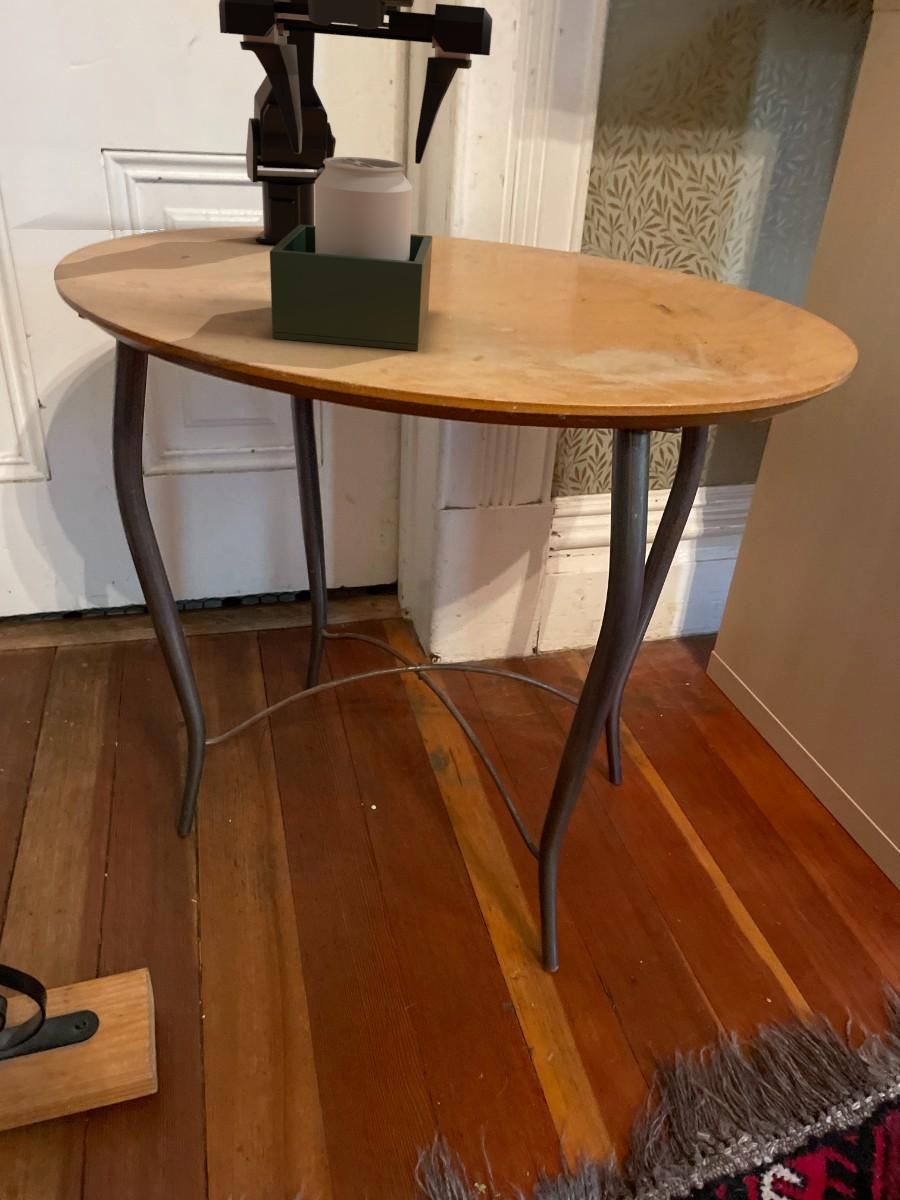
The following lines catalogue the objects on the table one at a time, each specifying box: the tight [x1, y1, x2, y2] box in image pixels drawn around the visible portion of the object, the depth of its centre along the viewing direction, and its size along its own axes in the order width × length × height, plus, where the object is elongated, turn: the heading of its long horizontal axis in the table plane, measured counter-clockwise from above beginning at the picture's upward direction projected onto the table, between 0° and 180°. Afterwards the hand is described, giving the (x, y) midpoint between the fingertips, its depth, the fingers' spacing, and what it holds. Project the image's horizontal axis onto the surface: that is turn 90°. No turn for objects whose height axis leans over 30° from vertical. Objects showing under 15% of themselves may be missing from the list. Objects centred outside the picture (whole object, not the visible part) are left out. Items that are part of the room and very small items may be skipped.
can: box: [314, 156, 414, 261], centre depth 70 cm, size 8×8×12 cm
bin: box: [269, 224, 433, 352], centre depth 72 cm, size 11×11×6 cm
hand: (357, 158), depth 67 cm, fingers open, 9 cm apart
